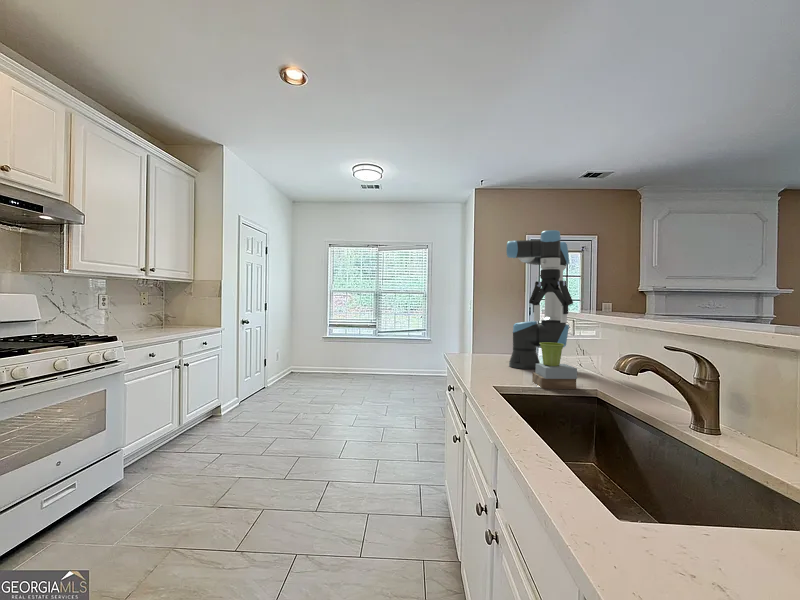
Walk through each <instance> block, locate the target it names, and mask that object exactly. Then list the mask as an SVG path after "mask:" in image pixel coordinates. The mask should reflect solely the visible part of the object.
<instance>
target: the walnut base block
mask: <svg viewBox="0 0 800 600" xmlns="http://www.w3.org/2000/svg"><path fill="white" fill-rule="evenodd" d="M531 377H532V378H531V379H532V381H531V382H532V383H533V382H534V383H533V384H535V385H536V384H537V385H539V386H540V387H541V388H540V387H539V386H538V387H539V388H540V389H542V390H543V389H545V390H547V389H548V390H577V379H545V378H543V377H542V376H540V375H538V374H536V372H532V376H531ZM537 385H536V386H537Z"/></svg>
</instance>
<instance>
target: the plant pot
mask: <svg viewBox="0 0 800 600" xmlns="http://www.w3.org/2000/svg"><path fill="white" fill-rule="evenodd" d="M539 344H540V346H541V347H540V348H541V356H542V364H544V365H548V366H559V365H560V364H561V358H562V351H563V349H564V348H563V346H564V344H562V343H552V342H542V343H539Z"/></svg>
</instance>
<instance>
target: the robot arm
mask: <svg viewBox="0 0 800 600" xmlns="http://www.w3.org/2000/svg"><path fill="white" fill-rule="evenodd" d="M561 240H562V239H561V232H560V230H557V229H550V230H549V229H548V230H543V231H542V232H540V239H528V240H524V239H523V240H522V239H521V240H509V241H507V243H506V256H507V258H509V259H518V260H519V261H520V262H521V263H524V264H529V265H535V266H536V265H537V266H538V265H539V266H540V269H541V270H540V273H539V274H540V276H539V277H540V279H541V280H540V281H535V283H534V288H533V291H532V293H531V296H530V298H529V301H528V303H529V304H530V305H532V313H533V320H532V321H522V322H516V323H514V324H513V327H512V353H511V356H510V359H509V362H508V367H510V368H514V369H522V370H536V364H541V362H540V359H539V356H538V353H537V348H541V346H540V344H539V343H542V342H552V343H562V344H564V346H563V349H564V348H565V347H567V343H568V342H567V341H568V335H569V328H570V325H569V324H568V314H569V306H570V305H573V304H574V301H573V299H572V296H571V293H570V292H569V289H568V287H567V281H566V280H564V271H565V269H566V268H567V265H569V264H570V258H569V249H568V243H566V242H565V241H561ZM543 298H544V317H543V318H542V319H541V305H540V303H541V301H542V300H543ZM538 322H541V323H538Z"/></svg>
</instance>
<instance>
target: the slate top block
mask: <svg viewBox="0 0 800 600" xmlns="http://www.w3.org/2000/svg"><path fill="white" fill-rule="evenodd" d="M535 373H536V374H538V375H540V376H542V377H543V378H545V379H576V380H578V368H577V367H574V366H572V365H569V364H567V363H560V365H559V366H548V365H544V364H543V363H540V364H536V369H535Z"/></svg>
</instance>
